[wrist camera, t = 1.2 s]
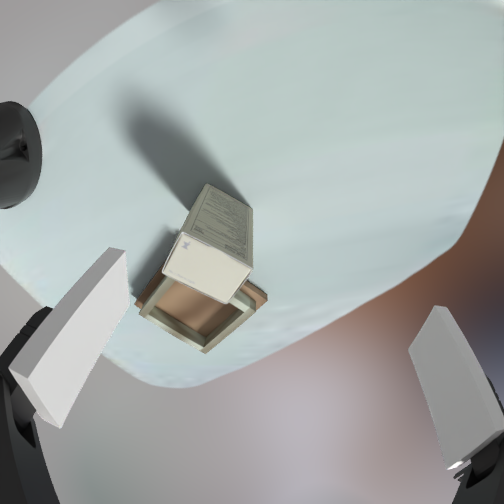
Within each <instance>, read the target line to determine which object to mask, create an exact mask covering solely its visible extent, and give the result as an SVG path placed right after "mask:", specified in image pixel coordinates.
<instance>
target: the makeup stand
mask: <svg viewBox="0 0 504 504" xmlns="http://www.w3.org/2000/svg"><path fill="white" fill-rule="evenodd" d="M165 262H166V261H165ZM165 262H164V263H163V265H162V266H161V267H160V269H159V270H158V271H157V273H156V274H155V275H154V277H153V278H152V279H151V281H150V282H149V283H148V285H147V286H146V288H145V289H144V290H143V292H142V293H141V294H140V296H139V297H138V299H137V300H136V302H135V304H134V305H136V306H137V307H139V308H140V309H141V310H140V312H139V315H141V316H143V317H144V318H146V319H147V320H149V321H150V322H152V323H154V324H155V325H157V326H158V327H160V328H162V329H163V330H165V331H167V332H168V333H170V334H172V335H173V336H175V337H177V338H178V339H180V340H182V341H183V342H185V343H187V344H189V345H190V346H192V347H194V348H196V349H197V350H199V351H201V352H203V353H205V354H206V353H208V352H209V351H210V350H211V349H212V348H214V347H215V346H216V345H217V344H218V343H220V342H221V341H222V340H223V339H224V338H226V337H227V336H228V335H229V334H230V333H232V332H233V331H234V330H235V329H236V328H238V327H239V326H240V325H241V324H242V323H243V322H245V321H246V320H247V319H248V318H249V317H250V316H252V315H253V314H254V313H255V312H256V310H257V309H259V308H260V307H261V306H262V305H263V304H264V303H265V302H267V294H265V293H264V292H262V291H261V290H259V289H258V288H257V287H255V286H254V285H252V284H251V283H249V282H248V281H245V282H244V284H243V285H242V286H241V287H240V289H239V290H238V291H237V292H236V294H235V295H234V296H233V297H232V299H231V300H230V301H229V302H228V304H224V303H221V302H219V301H217V300H215V299H213V298H211V297H208V296H206V295H204V294H202V293H200V292H198V291H196V290H194V289H191V288H189V287H188V286H185V285H184V284H181V283H180V282H178V281H176V280H174V279H172V278H170V277H168V276H166V275H165V274H163V273H162V269H163V267H164V264H165Z"/></svg>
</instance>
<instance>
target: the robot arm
mask: <svg viewBox="0 0 504 504" xmlns="http://www.w3.org/2000/svg"><path fill="white" fill-rule="evenodd" d="M41 165H42V148H41V141H40V136H39V132H38V129H37V126H36V124H35V121H34V119H33V118H32V116H31V114H30V113H29V112H28V110H27V109H26V108H24V107H23V106H22V105H20V104H19V103H16V102H12V101H8V102H3V103H0V209H9V208H12V207H15V206H16V205H18V204H20V203H21V202H23V201H24V200H26V199H27V198H28V197H29V196H30V195H31V194H32V193H33V191H34V189H35V188H36V185H37V183H38V180H39V177H40V172H41ZM129 306H130V301H129V290H128V278H127V265H126V251H124V250H120V249H115V248H110V247H109V248H108V249H107V250H106V251H105V252H104V253H103V254H102V255H101V256H100V257H99V258H98V260H97V261H96V262H95V263H94V264H93V265H92V266H91V267H90V268H89V269H88V270H87V271H86V272H85V273H84V275H83V276H82V277H81V278H80V279H79V280H78V281H77V282H76V283H75V284H74V286H73V287H72V288H71V289H70V290H69V291H68V292H67V294H66V295H65V296H64V297H63V298H62V299H61V300H60V302H59V303H58V304H57V305H56V306H55V308H54V309H53V308H50V307H47V306H46V307H44V308H42V309H41V310H39V311H38V312H36V313H35V314H34V315H33V316H32V317H31V318H30V319H29V321H28V322H27V323H26V326H24V327H23V328H22V329H21V330H20V333H19V334H17V335H16V336H15V338H14V339H13V340H12V342H11V343H10V344H9V345H8V347H7V348H6V349H5V351H4V352H3V353H2V355H1V356H0V504H60V502H59V500H58V497H57V495H56V492H55V490H54V487H53V484H52V481H51V478H50V475H49V472H48V469H47V466H46V463H45V459H44V456H43V452H42V449H41V445H40V441H39V437H38V433H37V429H36V424H35V421H34V419H33V415H34V413H35V412H36V411H37V413H38V414H39V415H40V417H41V418H42V419H43V420H45V421H47V422H48V423H50V424H53V425H54V426H57V427H58V428H61V427H62V425H63V423H64V421H65V419H66V417H67V415H68V413H69V411H70V409H71V407H72V405H73V403H74V401H75V399H76V397H77V396H78V394H79V392H80V390H81V388H82V386H83V384H84V383H85V381H86V379H87V377H88V375H89V373H90V372H91V370H92V368H93V366H94V364H95V363H96V361H97V359H98V357H99V356H100V354H101V352H102V350H103V349H104V347H105V345H106V344H107V342H108V340H109V338H110V337H111V335H112V333H113V332H114V330H115V328H116V327H117V325H118V323H119V322H120V320H121V318H122V317H123V315H124V314H125V312H126V310H127V309H128V307H129ZM408 351H409V354H410V356H411V359H412V362H413V364H414V367H415V369H416V372H417V375H418V378H419V380H420V383H421V386H422V389H423V392H424V395H425V398H426V401H427V404H428V407H429V410H430V413H431V417H432V420H433V423H434V426H435V430H436V433H437V437H438V440H439V444H440V447H441V451H442V455H443V459H444V463H445V467H446V470H447V469H451V468H455V467H458V466H461V465H462V464H463V463H465V462H466V461H468V460H469V459H471V464H469V465H468V466H467V467H465V468H464V469H462V470H461V471H459V472H458V473H457V474H455V476H454V479H456V478H457V477H459V476H460V475H462V474H463V473H464V475H463V476H462V477H460V478H459V479H458V481H460V482H461V483H460V486H459V488H458V491H457V493H456V495H455V498H454V500H453V502H452V504H504V409H503V406H502V404H501V402H500V401H499V397H498V395H497V393H495V389H494V387H493V384H492V382H491V381H490V379H489V378H488V377H487V376H486V375H485V374H484V372H483V370H482V368H481V366H480V364H479V363H478V361H477V359H476V357H475V355H474V353H473V351H472V349H471V348H470V346H469V344H468V342H467V340H466V339H465V337H464V335H463V333H462V332H461V330H460V329H459V327H458V325H457V323H456V322H455V320H454V318H453V317H452V315H451V313H450V312H449V310H448V309H447V307H441V306H434V308H433V310H432V311H431V313H430V315H429V317H428V318H427V320H426V322H425V323H424V325H423V327H422V328H421V330H420V332H419V333H418V335H417V336H416V338H415V340H414V341H413V343H412V344H411V346H410V348H409V349H408Z"/></svg>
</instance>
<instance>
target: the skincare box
mask: <svg viewBox="0 0 504 504" xmlns="http://www.w3.org/2000/svg"><path fill="white" fill-rule="evenodd" d="M252 272H253V209H251V208H250V207H248V206H246V205H245V204H243V203H242V202H240V201H238V200H236V199H235V198H233V197H231V196H229V195H228V194H226V193H224V192H222V191H221V190H219V189H217V188H215V187H213V186H211V185H209V184H207V183H206V184H205V185H204V187H203V189H202V190H201V192H200V194H199V195H198V197H197V199H196V201H195V203H194V204H193V206H192V208H191V210H190V212H189V214H188V216H187V218H186V220H185V222H184V224H183V226H182V228H181V230H180V232H179V234H178V236H177V238H176V240H175V243H174V245H173V247H172V249H171V251H170V253H169V255H168V258H167V260H166V262H165V264H164V267H163V269H162V273H163V274H165V275H166V276H168V277H170V278H172V279H174V280H176V281H178V282H180V283H181V284H184V285H185V286H188V287H189V288H191V289H194V290H196V291H198V292H200V293H202V294H204V295H206V296H208V297H211V298H213V299H215V300H217V301H219V302H221V303H224V304H228V302H229V301H230V300H231V299H232V297H233V296H234V295H235V294H236V292H237V291H238V290H239V289H240V287H241V286H242V285H243V284H244V282H245V281H246V280H247V278H248V277H249V276H250V274H251V273H252Z"/></svg>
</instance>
